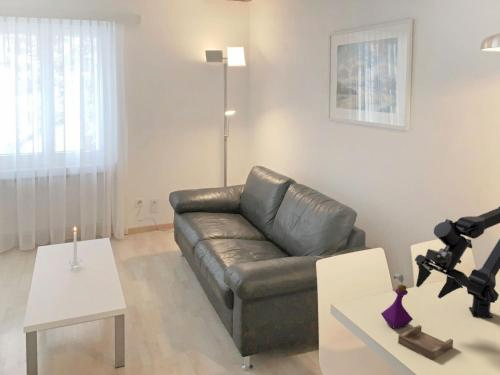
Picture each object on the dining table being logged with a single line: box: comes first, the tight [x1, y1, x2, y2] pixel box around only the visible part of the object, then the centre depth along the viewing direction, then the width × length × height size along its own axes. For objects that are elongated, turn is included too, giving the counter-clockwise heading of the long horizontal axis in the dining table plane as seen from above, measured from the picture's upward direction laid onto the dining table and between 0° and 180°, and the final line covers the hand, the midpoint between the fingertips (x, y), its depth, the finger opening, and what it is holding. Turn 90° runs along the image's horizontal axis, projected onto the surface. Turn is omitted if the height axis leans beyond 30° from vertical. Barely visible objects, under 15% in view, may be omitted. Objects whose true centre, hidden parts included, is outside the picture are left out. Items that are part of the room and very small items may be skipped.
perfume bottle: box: [380, 274, 414, 330], centre depth 163 cm, size 8×8×18 cm
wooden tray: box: [397, 324, 454, 361], centre depth 152 cm, size 11×12×2 cm
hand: (427, 292), depth 158 cm, fingers open, 9 cm apart
